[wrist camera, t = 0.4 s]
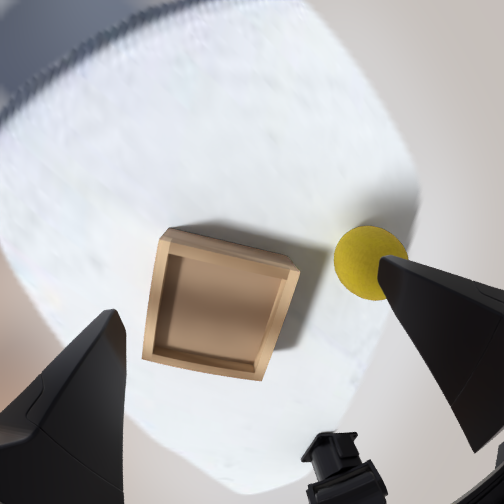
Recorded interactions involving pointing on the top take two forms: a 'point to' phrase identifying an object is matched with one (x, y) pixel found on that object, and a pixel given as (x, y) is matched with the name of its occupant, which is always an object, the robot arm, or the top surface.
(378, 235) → the lemon
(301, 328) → the top surface
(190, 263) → the tan open box
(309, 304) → the top surface
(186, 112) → the top surface
